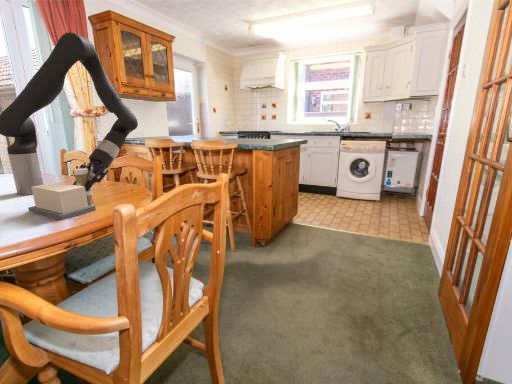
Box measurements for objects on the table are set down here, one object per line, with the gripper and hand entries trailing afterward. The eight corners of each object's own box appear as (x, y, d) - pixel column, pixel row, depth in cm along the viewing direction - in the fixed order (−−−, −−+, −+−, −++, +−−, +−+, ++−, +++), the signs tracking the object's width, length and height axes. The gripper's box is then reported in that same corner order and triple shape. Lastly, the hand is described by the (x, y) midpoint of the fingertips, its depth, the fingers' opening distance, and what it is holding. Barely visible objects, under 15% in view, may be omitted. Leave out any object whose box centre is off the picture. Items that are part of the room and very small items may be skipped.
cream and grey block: (29, 211, 89) (23, 187, 87) (63, 203, 99) (59, 181, 97) (62, 220, 82) (57, 193, 80) (95, 210, 91) (92, 186, 89)
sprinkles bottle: (93, 204, 98) (88, 169, 95) (79, 206, 96) (73, 170, 93) (93, 201, 102) (87, 167, 99) (79, 203, 100) (73, 168, 96)
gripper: (85, 147, 103) (58, 182, 96) (110, 148, 97) (83, 185, 90) (100, 158, 109) (75, 192, 102) (124, 161, 103) (99, 196, 96)
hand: (79, 189), depth 96 cm, fingers open, 5 cm apart
